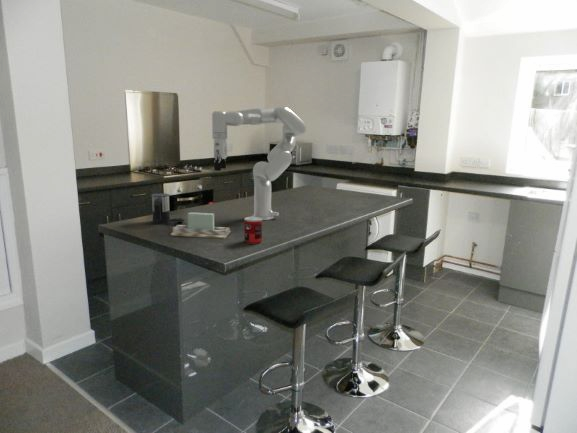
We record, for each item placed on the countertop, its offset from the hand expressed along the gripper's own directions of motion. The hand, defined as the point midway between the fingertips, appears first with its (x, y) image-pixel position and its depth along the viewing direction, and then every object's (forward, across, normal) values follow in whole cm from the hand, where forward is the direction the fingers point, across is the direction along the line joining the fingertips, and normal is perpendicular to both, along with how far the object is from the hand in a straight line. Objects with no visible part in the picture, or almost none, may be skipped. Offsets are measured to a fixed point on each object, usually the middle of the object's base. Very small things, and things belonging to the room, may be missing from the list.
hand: (220, 169), depth 218 cm
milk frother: (+29, -7, +26) cm, 39 cm away
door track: (+28, -24, +3) cm, 37 cm away
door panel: (+28, -24, +3) cm, 36 cm away
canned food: (+28, -33, -24) cm, 50 cm away
